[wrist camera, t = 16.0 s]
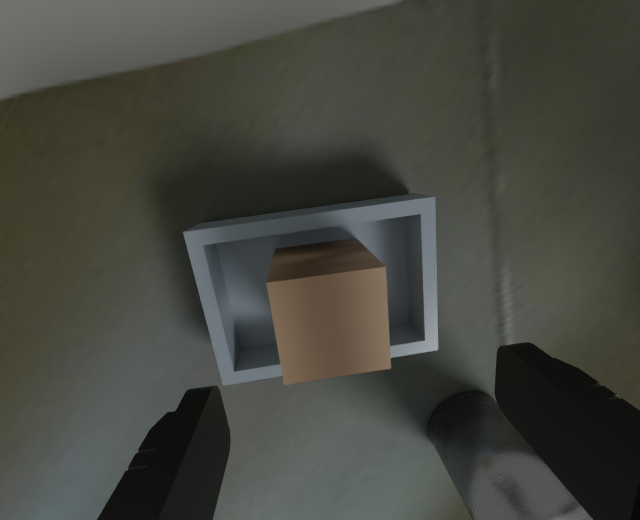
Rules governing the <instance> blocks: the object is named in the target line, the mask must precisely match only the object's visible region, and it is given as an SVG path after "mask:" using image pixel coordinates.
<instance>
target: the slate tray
mask: <svg viewBox="0 0 640 520" xmlns="http://www.w3.org/2000/svg"><path fill="white" fill-rule="evenodd" d="M183 234H184V238H185V242H186V246H187V250H188V253H189V257H190V261H191V265H192V269H193V273H194V276H195V280H196V284H197V288H198V292H199V295H200V299H201V303H202V307H203V311H204V315H205V318H206V322H207V326H208V330H209V334H210V337H211V341H212V345H213V349H214V353H215V357H216V360H217V364H218V368H219V372H220V376H221V379H222V383H223V386H224V385H230V384H236V383H242V382H248V381H254V380H260V379H266V378H272V377H278V376H282V370H281V364H280V359H279V353H278V347H277V341H276V336H275V330H274V324H273V318H272V313H271V307H270V301H269V295H268V290H267V284H266V282H267V278H268V274H269V270H270V266H271V263H272V259H273V255H274V251H275V249H277V248H284V247H292V246H300V245H307V244H315V243H323V242H331V241H338V240H346V239H354V238H357V239H358V240H359V241H360V242H361V243H362V244H363V245H364V246H365V247H366V248H367V249H368V250H369V251H370V252H371V253H372V254H373V255H374V256H375V257H376V258H377V259H378V260H379V261H380V262H381V263H382V264H383V265H384V266H385V267H386V281H387V300H388V319H389V337H390V356H391V358H393V357H399V356H405V355H411V354H417V353H424V352H430V351H436V350H438V311H437V261H436V210H435V197H434V196H428V195H421V194H414V193H412V194H405V195H398V196H391V197H384V198H377V199H369V200H362V201H355V202H348V203H341V204H334V205H326V206H319V207H312V208H305V209H298V210H291V211H283V212H276V213H269V214H262V215H255V216H248V217H241V218H233V219H226V220H219V221H212V222H205V223H200V224H198V225H196V226H194V227H192V228H190V229H188V230H186V231H184V232H183Z"/></svg>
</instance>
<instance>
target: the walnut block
mask: <svg viewBox="0 0 640 520" xmlns="http://www.w3.org/2000/svg"><path fill="white" fill-rule="evenodd" d="M266 284H267V290H268V295H269V301H270V307H271V313H272V318H273V324H274V330H275V336H276V341H277V347H278V353H279V359H280V364H281V370H282V376H283V382H284V385H287V384H294V383H300V382H307V381H313V380H320V379H326V378H333V377H340V376H346V375H353V374H359V373H366V372H372V371H379V370H385V369H391V356H390V337H389V319H388V300H387V281H386V267H385V266H384V265H383V264H382V263H381V262H380V261H379V260H378V259H377V258H376V257H375V256H374V255H373V254H372V253H371V252H370V251H369V250H368V249H367V248H366V247H365V246H364V245H363V244H362V243H361V242H360V241H359V240H358V239H357V238H354V239H346V240H338V241H331V242H323V243H315V244H307V245H300V246H292V247H284V248H277V249H275V251H274V255H273V259H272V263H271V266H270V270H269V274H268V278H267V282H266Z"/></svg>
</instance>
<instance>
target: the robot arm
mask: <svg viewBox="0 0 640 520" xmlns="http://www.w3.org/2000/svg"><path fill="white" fill-rule="evenodd" d="M495 397H496V400H497V403H498V406H499V408H500V410H501V411H502V413H503V414H504V416H505V417H506V418H507V419H508V420H509V422H510V423H511V424H512V425H513V426H514V427H515V429H516V430H517V431H518V432H519V433H520V434H521V436H522V437H523V438H524V439H525V440H526V441H527V443H528V444H529V445H530V446H531V447H532V449H533V450H534V451H535V452H536V453H537V454H538V456H539V457H540V458H541V459H542V460H543V461H544V463H545V464H546V465H547V466H548V467H549V469H550V470H551V471H552V472H553V473H554V474H555V476H556V477H557V478H558V479H559V480H560V481H561V483H562V484H563V485H564V486H565V487H566V488H567V490H568V491H569V492H570V493H571V494H572V496H573V497H574V498H575V499H576V500H577V501H578V503H579V504H580V505H581V506H582V507H583V508H584V510H585V511H586V512H587V513H588V514H589V516H590V517H591V518H592V519H593V520H640V411H639V410H638V409H637V408H635V407H634V406H632V405H631V404H629V403H628V402H626V401H625V400H624V399H619V398H618V396H617V395H616V394H615V393H613V392H612V391H611V390H609V389H608V388H606V387H605V386H601V385H600V383H599V382H598V381H596V380H595V379H593V378H592V377H590V376H589V375H588V374H586V373H585V372H583V371H582V370H580V369H579V368H577V367H574V366H572V365H570V364H567V363H565V362H563V361H561V360H558V359H556V358H552V357H550V356H549V355H548V354H546V353H545V352H544V351H542V350H541V349H539V348H538V347H537V346H535V345H534V344H532V343H529V342H526V343H519V344H512V345H505V346H500V347H499V348H498V351H497V360H496V377H495ZM138 450H139V451H138V453H136V454H135V456H134V458H133V459H132V461H131V463H130V465H129V466H128V467H129V468H128V471H125V473H124V475H123V476H122V478H121V480H120V482H119V483H118V485H117V487H116V488H115V490H114V492H113V494H112V495H111V497H110V499H109V500H108V502H107V504H106V505H105V507H104V509H103V511H102V512H101V514H100V516H99V517H98V519H97V520H213V516H214V512H215V508H216V504H217V500H218V496H219V492H220V488H221V484H222V480H223V476H224V472H225V468H226V464H227V460H228V456H229V451H230V430H229V425H228V421H227V417H226V413H225V409H224V405H223V401H222V397H221V393H220V390H219V388H218V387H217V386H209V387H202V388H195V389H189V390H187V391H186V393H185V394H184V396H183V398H182V400H181V402H180V404H179V406H178V408H177V409H176V411H174V412H167V413H166V414H165V415H164V416H163V417H162V418H161V419H160V420H159V421H158V422H157V423H156V424H155V425H154V426H153V427H152V428H151V429H150V430H149V432H148V434H147V436H146V437H145V439H144V441H143V442H142V444H141V446H140V448H139V449H138Z"/></svg>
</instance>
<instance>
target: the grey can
mask: <svg viewBox="0 0 640 520" xmlns="http://www.w3.org/2000/svg"><path fill="white" fill-rule="evenodd" d="M429 436H430V439H431V441H432V443H433V445H434V447H435V449H436V450H437V452H438V454H439V456H440V458H441V460H442V462H443V464H444V466H445V468H446V470H447V472H448V473H449V475H450V477H451V479H452V481H453V483H454V485H455V487H456V489H457V491H458V493H459V495H460V496H461V498H462V500H463V502H464V504H465V506H466V508H467V510H468V512H469V514H470V516H471V518H472V519H473V520H593V519H592V518H591V517H590V516H589V514H588V513H587V512H586V511H585V510H584V508H583V507H582V506H581V505H580V504H579V503H578V501H577V500H576V499H575V498H574V497H573V496H572V494H571V493H570V492H569V491H568V490H567V488H566V487H565V486H564V485H563V484H562V483H561V481H560V480H559V479H558V478H557V477H556V476H555V474H554V473H553V472H552V471H551V470H550V469H549V467H548V466H547V465H546V464H545V463H544V461H543V460H542V459H541V458H540V457H539V456H538V454H537V453H536V452H535V451H534V450H533V449H532V447H531V446H530V445H529V444H528V443H527V441H526V440H525V439H524V438H523V437H522V436H521V434H520V433H519V432H518V431H517V430H516V429H515V427H514V426H513V425H512V424H511V423H510V422H509V420H508V419H507V418H506V417H505V416H504V414H503V413H502V411H501V410H500V408H499V406H498V403H497V402H496V401H495V400H494V399H493V398H491V397H490V396H488V395H486V394H483V393H478V392H468V393H462V394H459V395H456V396H454V397H451V398H450V399H448V400H446V401H445V402H444V403H442V404H441V405H440V406H439V407H438V408H437V409H436V411H435V412H434V414H433V415H432V417H431V420H430V423H429Z"/></svg>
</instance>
